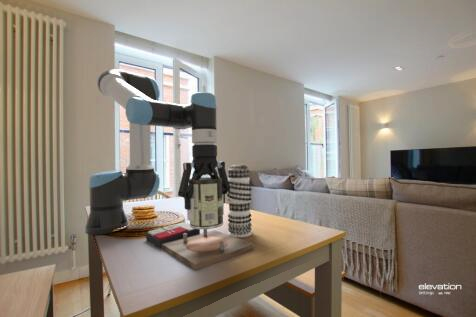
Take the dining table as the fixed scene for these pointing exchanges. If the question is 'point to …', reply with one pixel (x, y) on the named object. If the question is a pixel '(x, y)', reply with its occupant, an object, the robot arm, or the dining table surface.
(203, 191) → the coffee can
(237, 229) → the decorative candle
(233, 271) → the dining table surface
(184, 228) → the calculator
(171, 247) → the pin board
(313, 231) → the dining table surface
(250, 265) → the dining table surface
